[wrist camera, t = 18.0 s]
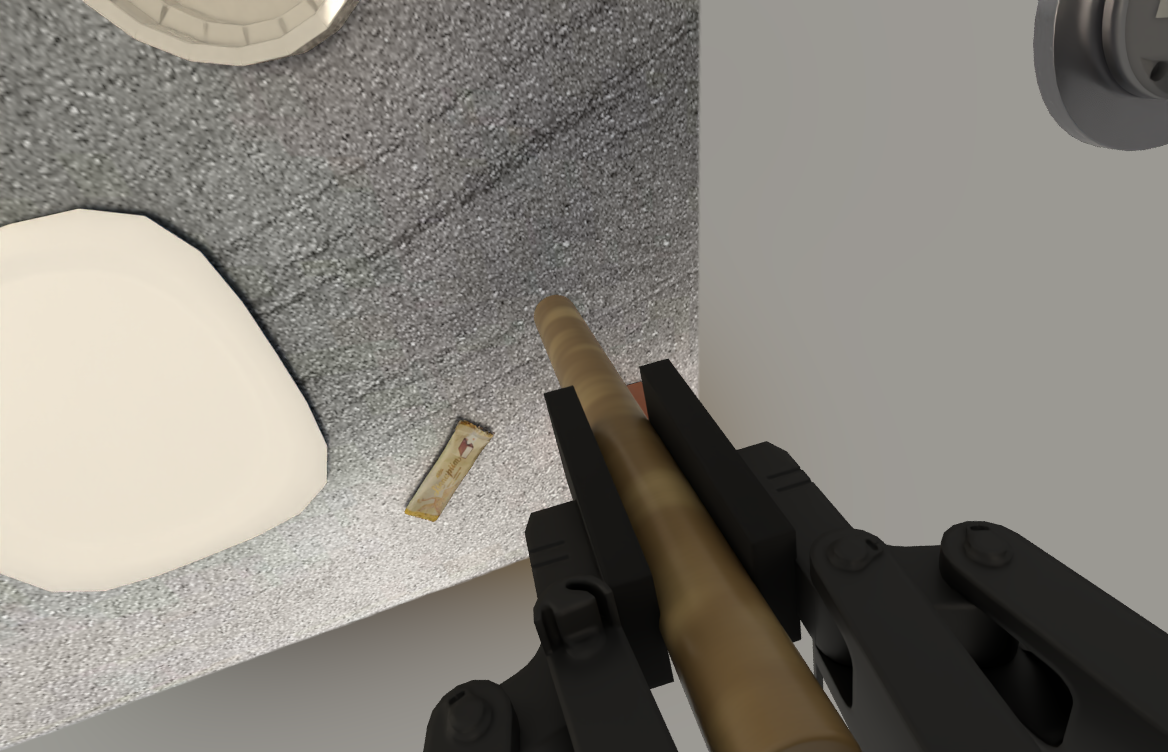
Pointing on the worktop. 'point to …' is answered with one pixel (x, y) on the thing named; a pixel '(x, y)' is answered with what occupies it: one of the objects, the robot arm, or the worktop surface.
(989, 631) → the robot arm
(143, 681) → the worktop surface
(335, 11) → the bowl
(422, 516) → the snack bar
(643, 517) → the stick
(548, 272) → the worktop surface
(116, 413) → the plate
